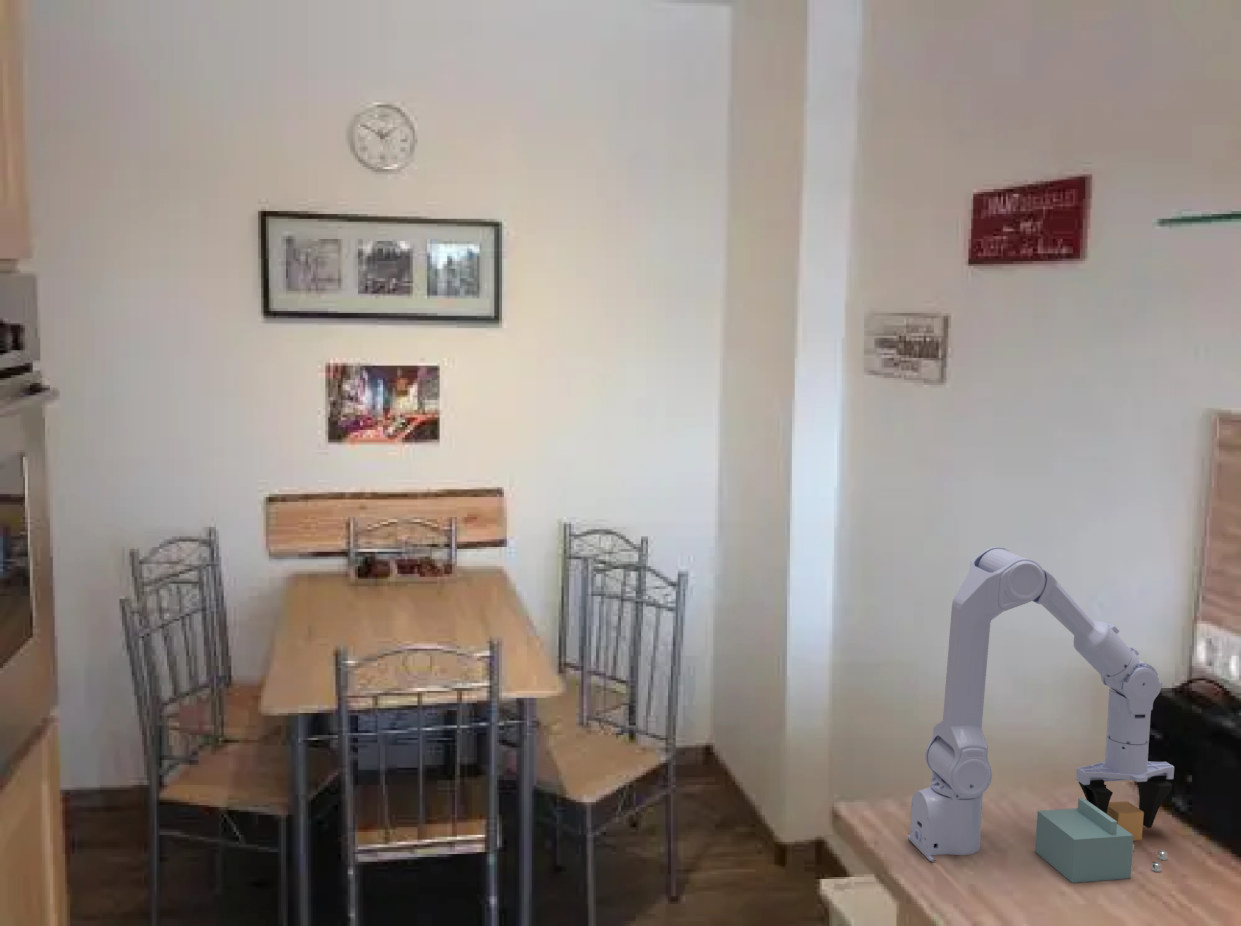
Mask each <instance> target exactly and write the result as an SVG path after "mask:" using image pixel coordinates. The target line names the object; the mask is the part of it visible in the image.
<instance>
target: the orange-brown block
mask: <svg viewBox="0 0 1241 926" xmlns="http://www.w3.org/2000/svg"><path fill="white" fill-rule="evenodd" d="M1107 815H1108V816H1110V817H1111V818H1113V819H1114V820H1116V821H1117V824H1118V825H1119V826H1121V827H1122V828H1124V829H1125V830H1126V831H1128V832H1129V833H1131V834H1132V835H1133V842H1134V841H1142V840H1143V830H1144V829H1143V828H1144V827H1143V826H1144V825H1143V816H1144V812H1143V811H1141V810H1140V809H1139V807H1137V806H1135V805H1134V804H1132V803H1131V802H1129V801H1128V800H1123V801H1109V805H1108V809H1107Z"/></svg>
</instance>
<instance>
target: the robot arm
mask: <svg viewBox="0 0 1241 926" xmlns="http://www.w3.org/2000/svg"><path fill="white" fill-rule="evenodd" d="M1031 602H1033V603H1036V604H1038V605H1041V606H1042V607H1044V608H1045V609H1046V610H1047V612H1049V613H1050V615H1052V616H1053V617H1054V618H1056V620H1057V621H1058V622H1059V623H1060V624H1062V625H1063V626H1064V627H1065V628H1066V629H1067V630H1068V631H1069V632H1070V633H1071V634H1072V635H1073V647H1074V649H1075V650H1076V652H1078V654H1079V655H1080V656H1082V658H1083V659H1084V660H1085V661H1086V662H1087V663H1088V664H1089V665H1090V666H1091V667H1092V668H1093V669H1094V670H1096V672H1097V673H1098V674H1099V675H1100V679H1101V681H1102V684H1103V685H1104V686H1107V687H1108V688H1109V689H1108V703H1107V720H1106V721H1107V722H1106V734H1105V735H1106V737H1105V754H1104V755H1105V757H1104V761H1101V762H1098V763H1094V764H1089V765H1086V766H1078V767H1076V778H1075V780H1076V781H1077V782H1078V784H1079V787H1080V788H1081V791H1082V792H1083V794H1084V797H1085V799H1086V800H1087V801H1089V802H1090V803H1091V804H1093V805H1094V806H1096V807H1097V808H1099V809H1100V810H1101V811H1103V812H1104V813H1106V814H1107V809H1108V805H1109V802H1111V801H1110V800H1111V798H1112V796H1113V791H1112V790H1111V789H1109V788H1107V784H1105V782H1119V781H1120V782H1121V781H1133V782H1136V783H1137V787H1138V799H1139V800H1138V801H1139V802H1138V803H1139V804H1138V809H1140V810H1141V811H1143V812H1144V816H1143V826H1145V828H1147V829H1150V828H1151V829H1152V827H1153V824H1154V822H1155V820H1156V818H1157V817H1156V816H1157V813H1158V812H1159V809H1160V807H1161V806H1162V804H1163V802H1164V800H1165V799H1166V797H1167V796H1168V795H1169V794H1170V793H1171V791H1172V787H1173V784H1172V783H1171V782H1169V781H1168V780H1174V777H1175V776H1174V774H1175V766H1174V765H1173V764H1170V763H1169V762H1167V761H1149V760H1148V759H1149V743H1150V731H1151V714H1152V711H1153V709H1154V706H1153V705H1154V701H1155V700H1156V698H1157V697H1158V695H1159V694H1160V692H1161V691H1162V687H1163V682H1161V681H1160V678H1159V674H1158V672H1157V670H1156V668H1154V667H1153V666H1152V665H1150V664H1148V663H1146V662H1144V661H1142V660H1140V658H1139V655H1140V652H1139V651H1138V650H1137V648H1134V647H1132V646H1129V645H1128V644H1127V643H1126V642H1125V641H1124V640H1123V639H1122V638H1121V637H1120V636H1119V635H1118V634H1119V632H1120V629H1119V628H1117V626H1116V625H1114V624H1111V623H1110V622H1109V623H1107V622H1105V621H1103V620H1092V619H1091V618H1090V616H1089V615H1087V614H1086V612H1085V611H1084V610H1083V609H1082V607H1080V605H1079V604H1078V603H1077V602H1076V601H1075V600H1074V598H1073V597H1072V596H1071V594H1069V593H1068V591H1066V590H1065V588H1064V587H1063V586H1062V585H1061V584H1060V583H1059V582H1058V581H1057V579H1056V578H1055V577H1054V575H1053V574H1051V573H1050V572H1049V571H1047V570H1045V569H1043V567H1042V565H1040V564H1039V563H1038V562H1037V561H1035V560H1034V559H1031V558H1027V557H1024V556H1021V555H1019V554H1016V553H1014V552H1011V551H1010V550H1008V549H1006V548H1004V547H1001V546H992V547H989V548H987V549H985V550H983V551H982V552H981V553H979V554H978V555H976V556H975V557H974V558H972V559H971V560H970V562H969V571H968V573H967V575H966V576H965V579H964V580H963V582H962V583H961V584H960V586H959V588H958V590H957V592H956V593H955V595H954V597H953V599H952V604H951V613H950V614H951V615H950V623H949V624H950V625H949V636H948V637H949V639H948V650H947V661H946V662H947V666H946V673H945V674H946V675H945V676H946V677H945V688H944V689H945V690H944V700H943V701H944V702H943V712H942V713H943V715H942V720H941V721H939V722H938V723H936V724H935V725H934V726H933V729H932V736H931V739H930V741H929V743H928V744H927V746H926V749H925V751H924V752H925V754H924V757H925V763H926V765H927V767H928V769H930V771H931V772H932V774H931V780H930V785H929V786H928V787H926V788H923V789H920V790H919V789H918V790H916V791H914V793H913V794H912V798H911V806H910V807H911V808H910V827H909V828H910V830H909V831H910V832H909V834H908V835H907V839H908V840H909V841H910V842H911V843H912V844H913V845H914V846H915V847H916V848H917V849H918V850H919V851H920V852H921V853H922V854H923V855H924V856H925V857H926V858H927V859H928V861H930V862H937V860H936V859H935V858H934V856H939V855H956V856H957V855H958V856H967V855H973V854H976V853H978V852H979V851H980V850H981V836H982V814H983V813H982V811H983V795H984V793H985V792H986V791H987V790H988V789H989V787H990V785H991V783H992V780H993V770H992V767H991V764H990V762H989V760H988V759H989V757H988V752H989V747H988V745H987V744H988V743H987V741H986V738H985V735H984V731H983V726H982V725H983V715H984V714H983V713H984V703H985V702H984V701H985V692H986V691H985V690H986V682H987V681H986V677H987V666H988V655H989V643H990V632H991V623H992V620H994V619H995V618H997V617H998V616H999V615H1000V614H1003V612H1006V611H1009V610H1013V609H1014V608H1018V607H1020V606H1023V605H1025V604H1026V605H1027V604H1028V603H1031ZM935 844H936V846H935Z"/></svg>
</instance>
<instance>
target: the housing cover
mask: <svg viewBox="0 0 1241 926" xmlns="http://www.w3.org/2000/svg"><path fill="white" fill-rule="evenodd" d="M1036 812H1037V813H1036V835H1035V851H1034V853H1036V854H1037V855H1039V856H1040V858H1041V859H1043V860H1044V861H1046V863H1048V864H1049V865H1050V866H1052V867H1053V868H1054V869H1055V870H1056V871H1057V872H1059V874H1061V875H1062V876H1063V877H1064V878H1065V879H1067V880H1068V881H1069V882H1070V883H1072V884H1076V883H1088V882H1101V881H1115V880H1125V879H1126V880H1128V879H1131V878H1132V864H1133V852H1132V850H1133V843H1134V841H1133V835H1132V834H1131V833H1129V832H1128V831H1126V830H1125V829H1124V828H1122V827H1121V826H1119V825H1118V824H1117V821H1116V820H1114V819H1113V818H1111V817H1110V816H1108V815H1107V814H1106V813H1104V812H1103V811H1101V810H1100V809H1099V808H1097V807H1096V806H1094V805H1093V804H1091V803H1090V802H1089V801H1087V800H1086V798H1084V797H1078V801H1077V808H1076V807H1075V808H1072V807H1071V808H1059V809H1045V810H1037V811H1036Z"/></svg>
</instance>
